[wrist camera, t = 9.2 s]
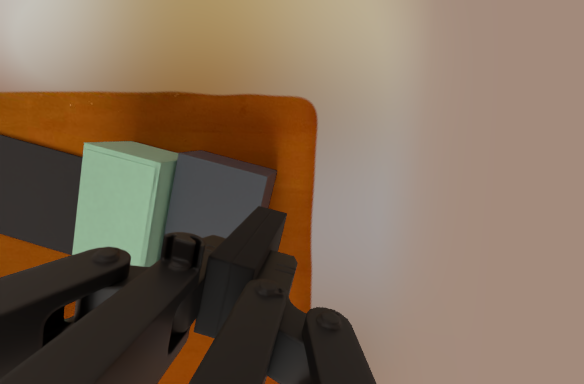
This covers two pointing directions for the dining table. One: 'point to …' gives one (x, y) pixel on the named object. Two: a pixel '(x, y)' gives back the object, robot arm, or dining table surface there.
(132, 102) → the dining table surface
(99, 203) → the open box
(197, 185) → the block
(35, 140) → the dining table surface
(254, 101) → the dining table surface
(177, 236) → the robot arm
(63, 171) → the mat
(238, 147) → the dining table surface
